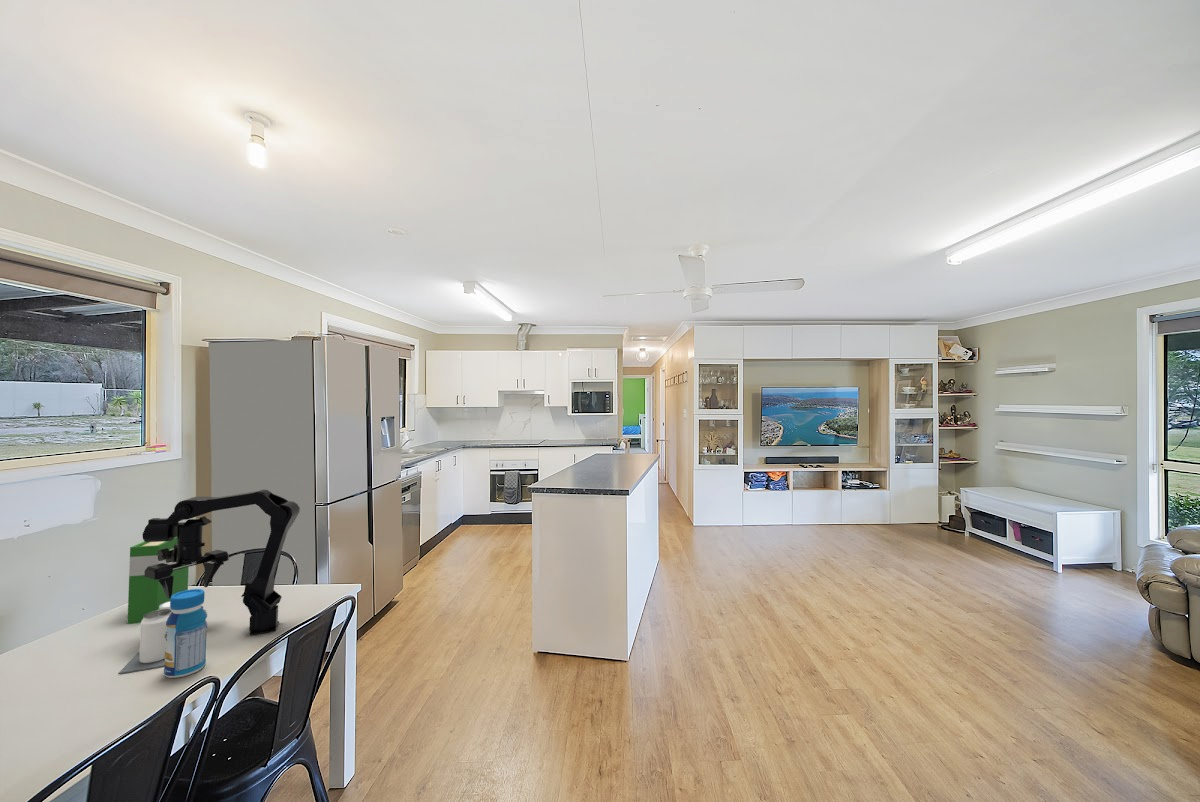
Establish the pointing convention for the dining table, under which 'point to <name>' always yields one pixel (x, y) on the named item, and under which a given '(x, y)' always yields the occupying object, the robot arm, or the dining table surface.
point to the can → (153, 636)
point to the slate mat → (140, 665)
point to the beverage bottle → (185, 634)
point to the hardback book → (150, 580)
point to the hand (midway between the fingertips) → (188, 592)
